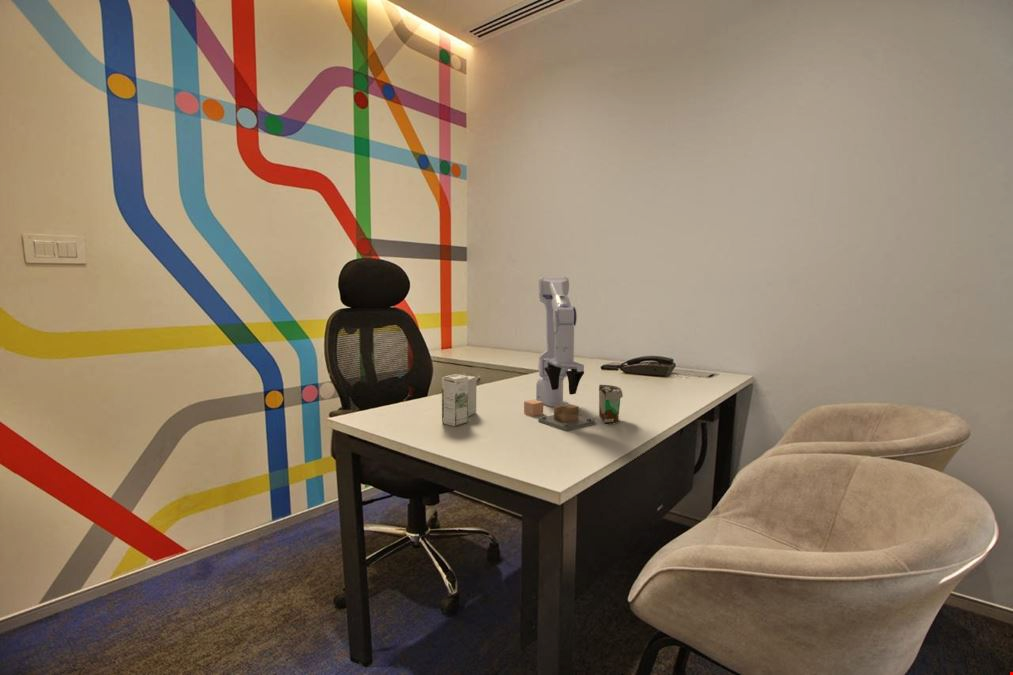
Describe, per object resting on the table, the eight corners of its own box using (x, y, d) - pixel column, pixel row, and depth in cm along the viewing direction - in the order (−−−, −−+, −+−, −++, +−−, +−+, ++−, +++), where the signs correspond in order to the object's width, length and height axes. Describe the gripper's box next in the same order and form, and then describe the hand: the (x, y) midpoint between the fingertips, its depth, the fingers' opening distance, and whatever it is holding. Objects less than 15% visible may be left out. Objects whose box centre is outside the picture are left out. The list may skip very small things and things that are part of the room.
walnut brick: (553, 419, 147) (554, 406, 147) (568, 416, 151) (568, 403, 150) (564, 422, 144) (564, 409, 143) (578, 419, 147) (578, 406, 147)
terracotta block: (524, 413, 158) (524, 401, 158) (534, 411, 161) (534, 399, 160) (532, 416, 155) (533, 404, 154) (543, 414, 157) (543, 402, 157)
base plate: (538, 421, 148) (538, 416, 148) (566, 415, 156) (566, 410, 156) (566, 431, 139) (566, 425, 139) (594, 423, 146) (594, 418, 146)
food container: (626, 426, 144) (627, 393, 143) (605, 426, 144) (606, 392, 143) (617, 414, 156) (618, 384, 155) (598, 414, 156) (599, 384, 155)
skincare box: (465, 411, 160) (464, 375, 159) (477, 413, 158) (477, 376, 157) (455, 416, 155) (455, 378, 153) (468, 417, 153) (467, 379, 151)
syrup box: (455, 419, 151) (454, 373, 149) (468, 422, 147) (468, 375, 146) (441, 423, 146) (440, 376, 145) (455, 427, 143) (454, 378, 141)
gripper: (538, 345, 149) (537, 389, 151) (572, 351, 138) (571, 398, 139) (554, 343, 153) (554, 386, 155) (589, 349, 142) (588, 394, 144)
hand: (563, 391), depth 147 cm, fingers open, 7 cm apart
